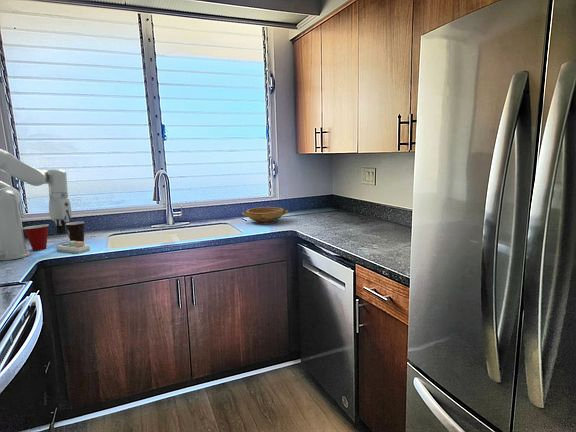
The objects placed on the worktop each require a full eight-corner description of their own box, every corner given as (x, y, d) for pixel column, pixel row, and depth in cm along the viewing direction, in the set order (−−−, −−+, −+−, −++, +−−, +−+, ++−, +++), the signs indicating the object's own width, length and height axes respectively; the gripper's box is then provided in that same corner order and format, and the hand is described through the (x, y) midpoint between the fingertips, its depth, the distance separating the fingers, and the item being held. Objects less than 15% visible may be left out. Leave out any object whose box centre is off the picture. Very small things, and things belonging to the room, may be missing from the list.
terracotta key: (80, 247, 174) (79, 242, 174) (75, 246, 175) (74, 242, 175) (84, 245, 176) (83, 241, 176) (79, 245, 177) (79, 241, 177)
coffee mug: (69, 240, 199) (67, 222, 197) (87, 238, 202) (85, 221, 200) (65, 245, 188) (62, 226, 187) (84, 243, 191) (81, 224, 190)
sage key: (73, 246, 176) (72, 242, 176) (68, 245, 177) (68, 241, 177) (77, 245, 178) (76, 241, 178) (72, 244, 179) (72, 240, 179)
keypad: (79, 253, 173) (78, 248, 172) (57, 250, 178) (56, 245, 178) (90, 250, 178) (89, 245, 177) (68, 247, 184) (67, 243, 183)
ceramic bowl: (241, 227, 222) (241, 214, 221) (242, 219, 246) (242, 207, 244) (290, 224, 225) (290, 212, 224) (286, 217, 249) (286, 206, 247)
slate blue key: (66, 248, 178) (66, 244, 178) (62, 247, 179) (61, 243, 179) (70, 246, 180) (70, 243, 180) (66, 246, 181) (65, 242, 181)
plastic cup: (47, 245, 190) (44, 222, 188) (55, 248, 184) (52, 224, 181) (23, 249, 182) (19, 226, 180) (30, 253, 175) (26, 228, 173)
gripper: (77, 195, 176) (79, 233, 178) (55, 194, 181) (57, 230, 184) (62, 197, 169) (64, 236, 172) (40, 195, 174) (43, 233, 177)
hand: (61, 233), depth 178 cm, fingers closed
